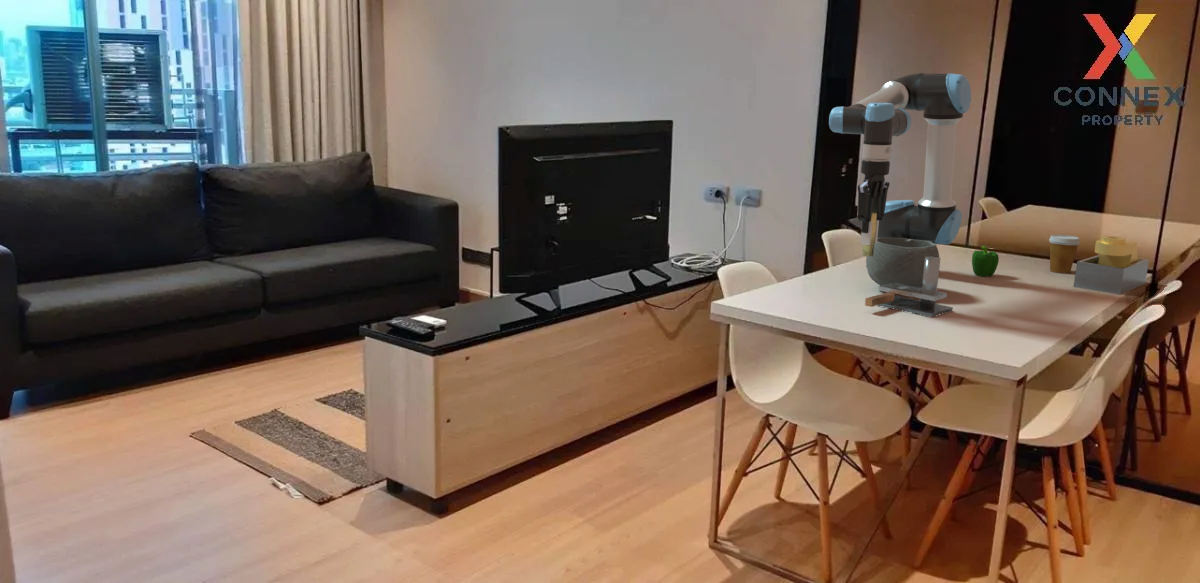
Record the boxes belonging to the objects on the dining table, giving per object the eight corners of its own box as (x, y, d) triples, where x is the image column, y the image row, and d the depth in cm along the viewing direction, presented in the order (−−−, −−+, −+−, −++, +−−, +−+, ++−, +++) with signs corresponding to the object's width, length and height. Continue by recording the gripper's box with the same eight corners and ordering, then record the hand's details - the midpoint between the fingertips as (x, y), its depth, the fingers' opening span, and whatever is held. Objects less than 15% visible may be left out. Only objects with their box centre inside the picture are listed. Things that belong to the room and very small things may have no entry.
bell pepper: (984, 272, 313) (987, 243, 311) (1001, 277, 305) (1005, 247, 303) (963, 273, 310) (967, 243, 308) (980, 278, 303) (984, 248, 300)
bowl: (860, 293, 276) (865, 244, 272) (866, 280, 295) (870, 233, 292) (935, 301, 269) (941, 250, 266) (936, 287, 288) (942, 239, 285)
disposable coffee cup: (1081, 272, 317) (1086, 238, 314) (1065, 275, 311) (1070, 240, 309) (1054, 267, 324) (1059, 233, 322) (1039, 270, 319) (1043, 235, 316)
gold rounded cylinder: (860, 255, 263) (863, 213, 260) (865, 253, 265) (869, 211, 262) (869, 256, 261) (873, 214, 258) (875, 255, 263) (878, 213, 260)
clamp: (1116, 292, 288) (1124, 241, 285) (1084, 286, 295) (1092, 237, 291) (1137, 283, 302) (1145, 235, 298) (1106, 278, 308) (1114, 231, 305)
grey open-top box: (1073, 286, 294) (1077, 261, 293) (1100, 276, 311) (1103, 253, 309) (1120, 294, 285) (1124, 268, 283) (1145, 284, 301) (1149, 259, 299)
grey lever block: (854, 310, 255) (859, 256, 252) (894, 298, 270) (900, 248, 267) (913, 323, 243) (919, 267, 240) (952, 310, 258) (958, 257, 255)
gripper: (873, 162, 249) (865, 249, 254) (902, 159, 259) (895, 242, 265) (848, 160, 254) (841, 244, 259) (878, 157, 264) (871, 238, 270)
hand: (868, 243), depth 262 cm, fingers closed on gold rounded cylinder, 3 cm apart
